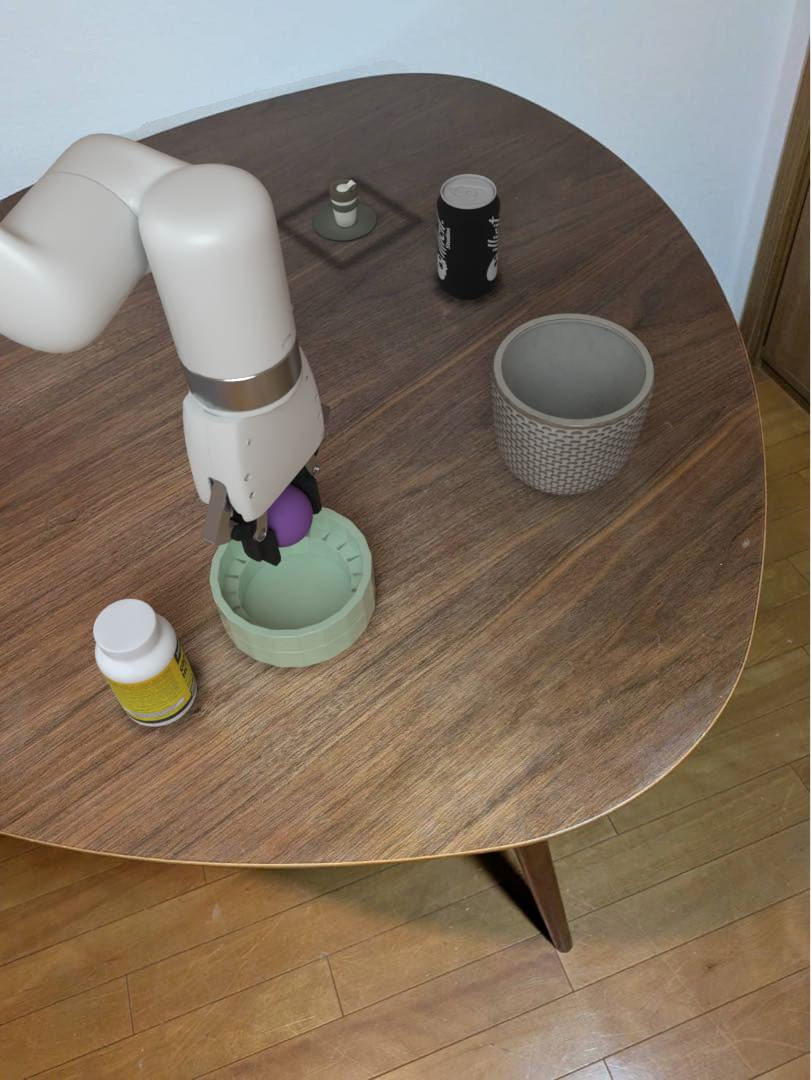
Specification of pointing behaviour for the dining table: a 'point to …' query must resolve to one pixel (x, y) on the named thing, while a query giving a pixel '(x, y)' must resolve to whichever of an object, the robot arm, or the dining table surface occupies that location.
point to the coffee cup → (344, 214)
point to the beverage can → (468, 236)
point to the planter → (569, 401)
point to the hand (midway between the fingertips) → (283, 529)
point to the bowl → (297, 594)
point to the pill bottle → (143, 663)
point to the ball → (290, 516)
